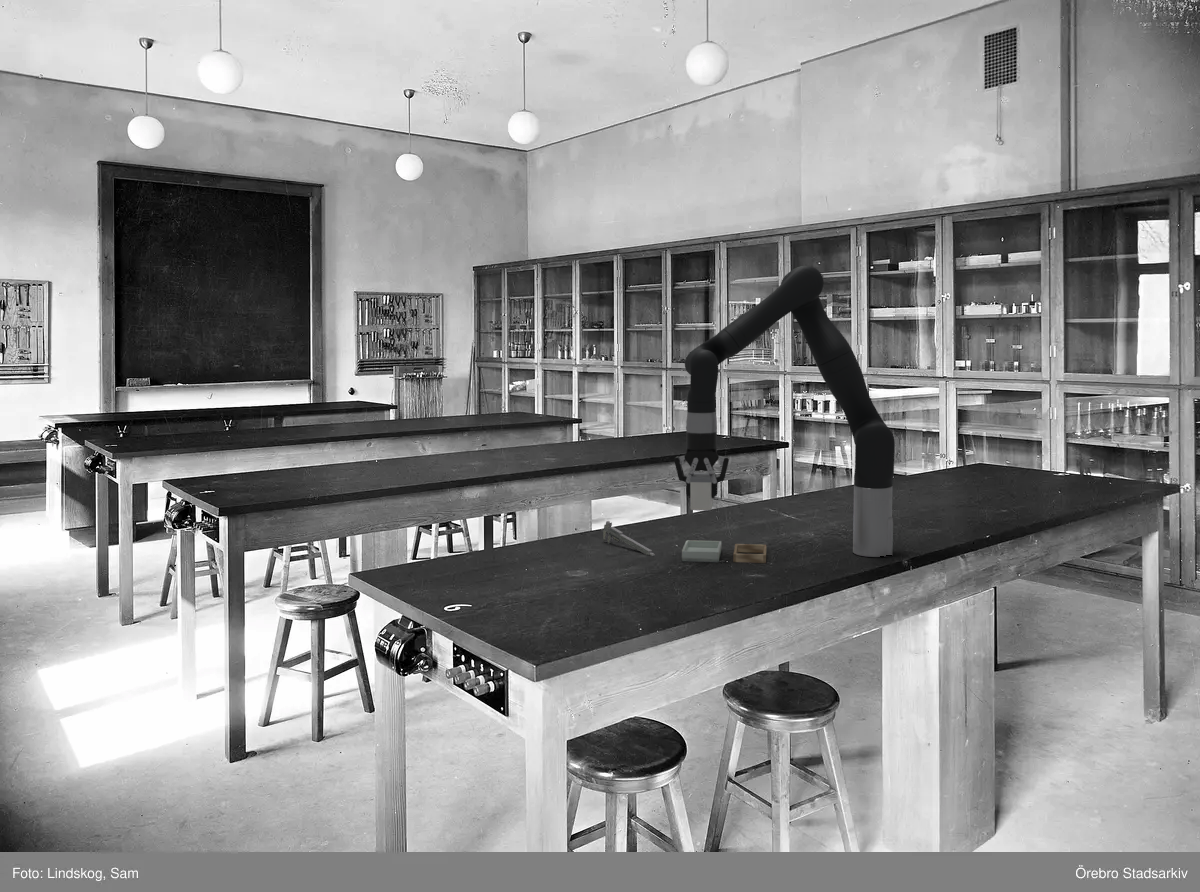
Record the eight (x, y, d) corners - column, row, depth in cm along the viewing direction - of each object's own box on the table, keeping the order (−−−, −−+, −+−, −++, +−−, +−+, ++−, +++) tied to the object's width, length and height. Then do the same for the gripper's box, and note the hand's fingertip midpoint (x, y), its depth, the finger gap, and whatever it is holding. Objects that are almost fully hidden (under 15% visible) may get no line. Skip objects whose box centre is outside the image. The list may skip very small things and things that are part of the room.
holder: (766, 552, 233) (766, 544, 233) (765, 563, 223) (765, 555, 222) (735, 551, 235) (735, 543, 234) (733, 562, 224) (733, 554, 224)
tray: (721, 550, 236) (721, 541, 236) (718, 562, 224) (718, 552, 224) (686, 549, 238) (686, 540, 237) (681, 561, 226) (681, 551, 226)
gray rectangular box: (713, 504, 233) (713, 473, 232) (711, 510, 225) (711, 478, 224) (693, 503, 234) (692, 472, 233) (690, 510, 226) (689, 478, 225)
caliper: (603, 543, 248) (602, 520, 247) (606, 542, 249) (606, 520, 248) (651, 557, 232) (651, 533, 231) (655, 556, 232) (655, 532, 232)
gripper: (731, 428, 229) (731, 495, 231) (674, 428, 232) (674, 494, 234) (729, 432, 222) (729, 501, 224) (671, 431, 225) (671, 500, 227)
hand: (701, 497), depth 229 cm, fingers closed on gray rectangular box, 5 cm apart
